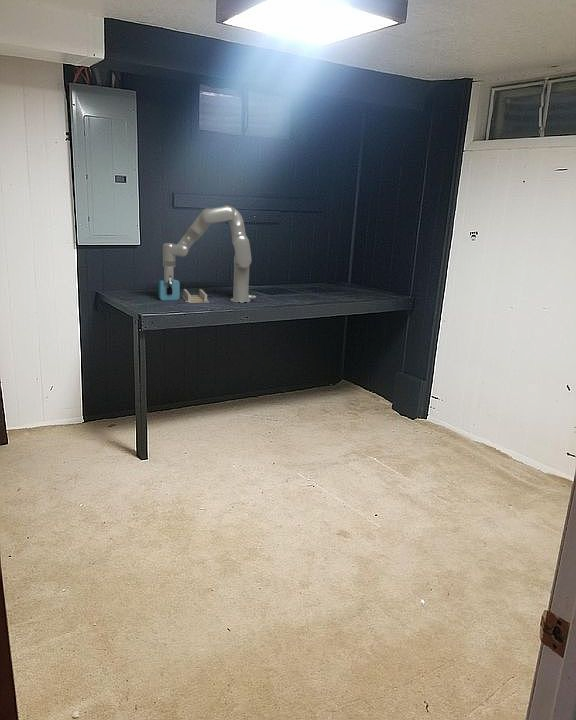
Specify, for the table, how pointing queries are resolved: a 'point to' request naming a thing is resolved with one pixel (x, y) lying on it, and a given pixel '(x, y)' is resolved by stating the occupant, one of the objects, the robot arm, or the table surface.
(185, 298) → the bay
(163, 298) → the data package
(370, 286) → the table surface
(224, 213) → the robot arm
